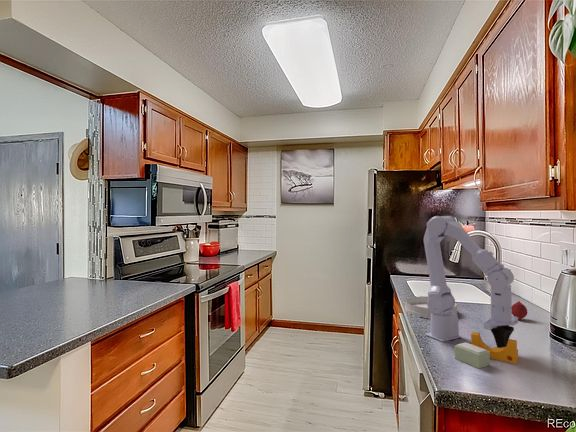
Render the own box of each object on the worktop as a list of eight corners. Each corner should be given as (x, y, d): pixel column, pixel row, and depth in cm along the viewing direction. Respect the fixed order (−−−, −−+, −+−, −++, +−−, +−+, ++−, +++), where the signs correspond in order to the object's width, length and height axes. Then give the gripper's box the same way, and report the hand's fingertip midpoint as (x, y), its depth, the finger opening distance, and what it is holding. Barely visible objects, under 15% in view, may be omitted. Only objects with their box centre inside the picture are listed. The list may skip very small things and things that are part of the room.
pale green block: (465, 355, 110) (465, 341, 110) (489, 365, 102) (489, 350, 102) (454, 358, 107) (454, 344, 107) (478, 368, 100) (478, 353, 100)
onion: (530, 322, 141) (530, 302, 141) (514, 321, 143) (514, 302, 143) (523, 318, 147) (523, 299, 147) (508, 317, 148) (508, 298, 148)
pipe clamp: (518, 359, 106) (517, 338, 106) (515, 364, 103) (515, 342, 103) (475, 350, 114) (474, 330, 114) (471, 354, 111) (471, 334, 111)
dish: (416, 321, 146) (416, 309, 146) (397, 307, 168) (397, 296, 168) (467, 320, 147) (467, 308, 147) (442, 306, 169) (442, 295, 169)
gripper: (499, 312, 104) (499, 357, 104) (527, 306, 111) (528, 348, 111) (477, 306, 111) (477, 349, 111) (505, 301, 117) (505, 341, 117)
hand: (501, 348), depth 111 cm, fingers closed
